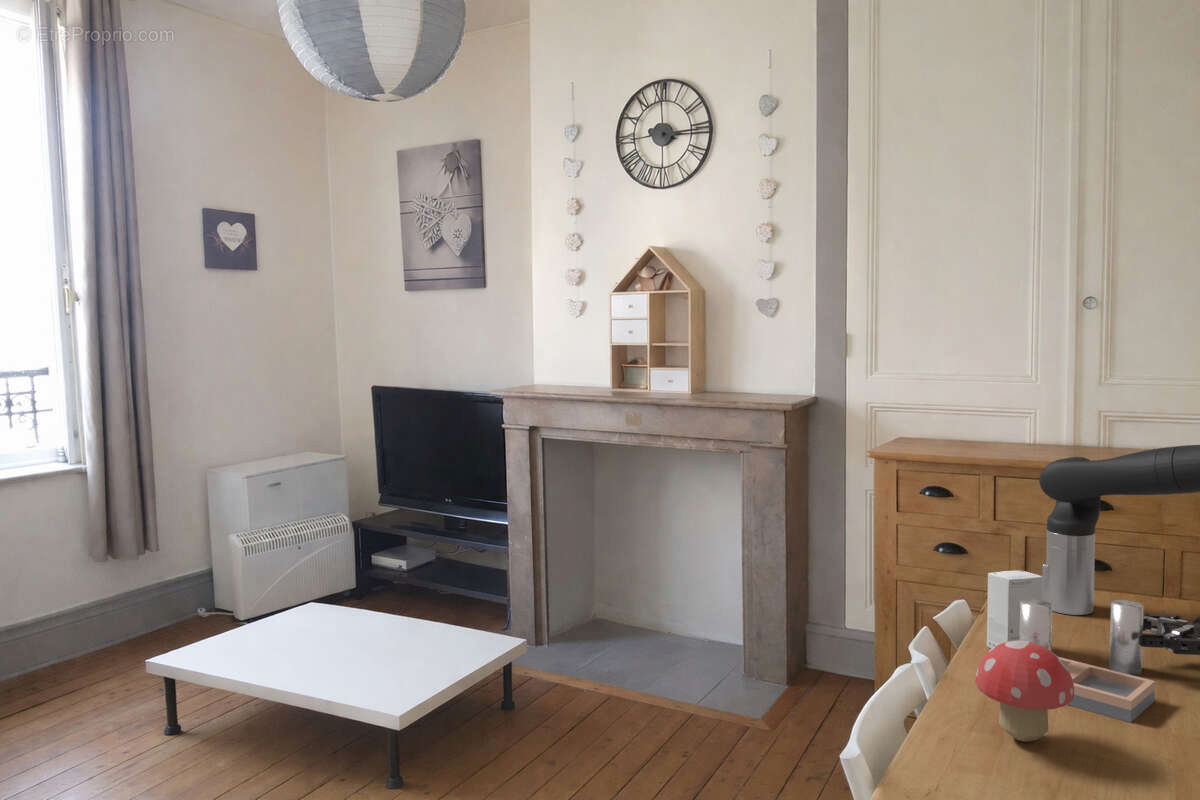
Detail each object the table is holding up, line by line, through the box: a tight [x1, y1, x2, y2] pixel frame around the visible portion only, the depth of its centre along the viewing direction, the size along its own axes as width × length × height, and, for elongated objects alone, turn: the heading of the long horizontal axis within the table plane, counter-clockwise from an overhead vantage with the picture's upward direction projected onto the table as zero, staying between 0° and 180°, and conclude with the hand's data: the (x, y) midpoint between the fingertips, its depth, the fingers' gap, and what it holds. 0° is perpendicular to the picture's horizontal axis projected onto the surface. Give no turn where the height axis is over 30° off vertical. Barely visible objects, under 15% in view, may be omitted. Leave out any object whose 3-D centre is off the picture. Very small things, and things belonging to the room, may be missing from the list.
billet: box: [1108, 599, 1144, 676], centre depth 157 cm, size 5×5×12 cm
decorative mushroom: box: [974, 640, 1074, 743], centre depth 131 cm, size 13×13×15 cm
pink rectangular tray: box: [1057, 656, 1156, 724], centre depth 148 cm, size 22×11×4 cm, turn 41°
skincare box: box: [986, 569, 1043, 650], centre depth 167 cm, size 8×6×15 cm
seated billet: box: [1020, 599, 1053, 652], centre depth 152 cm, size 5×5×12 cm
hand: (1130, 631), depth 156 cm, fingers open, 8 cm apart
